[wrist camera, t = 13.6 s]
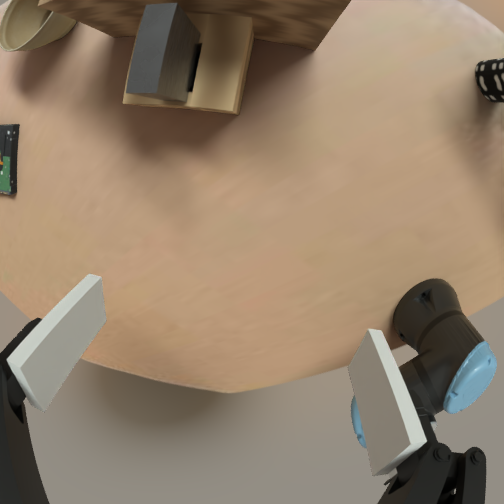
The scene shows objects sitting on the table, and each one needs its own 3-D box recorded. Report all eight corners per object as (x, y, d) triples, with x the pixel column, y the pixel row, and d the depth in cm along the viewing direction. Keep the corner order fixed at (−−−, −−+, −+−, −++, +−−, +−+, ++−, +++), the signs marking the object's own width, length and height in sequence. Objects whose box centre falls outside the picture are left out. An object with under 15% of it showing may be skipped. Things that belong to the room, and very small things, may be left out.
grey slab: (209, 46, 31) (177, 2, 16) (198, 105, 34) (156, 93, 20) (189, 45, 31) (146, 4, 16) (177, 104, 34) (125, 92, 20)
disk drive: (-4, 124, 37) (-6, 188, 43) (-12, 126, 34) (-14, 191, 40) (21, 123, 37) (18, 192, 43) (12, 124, 35) (10, 196, 41)
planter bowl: (81, 53, 32) (42, 44, 22) (25, 60, 31) (-11, 57, 21) (109, -21, 26) (79, -42, 16) (49, -7, 25) (18, -19, 15)
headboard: (318, 34, 31) (356, -26, 13) (300, 126, 38) (332, 124, 20) (118, 22, 30) (45, -15, 12) (101, 106, 37) (14, 107, 19)
